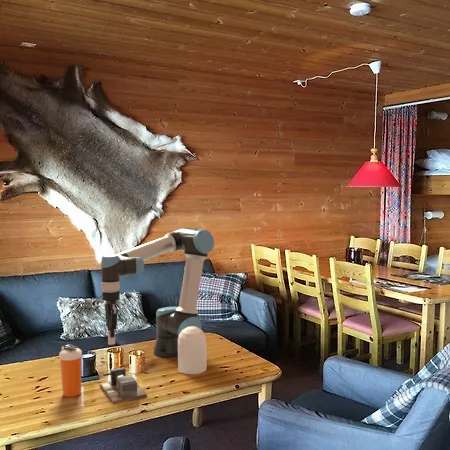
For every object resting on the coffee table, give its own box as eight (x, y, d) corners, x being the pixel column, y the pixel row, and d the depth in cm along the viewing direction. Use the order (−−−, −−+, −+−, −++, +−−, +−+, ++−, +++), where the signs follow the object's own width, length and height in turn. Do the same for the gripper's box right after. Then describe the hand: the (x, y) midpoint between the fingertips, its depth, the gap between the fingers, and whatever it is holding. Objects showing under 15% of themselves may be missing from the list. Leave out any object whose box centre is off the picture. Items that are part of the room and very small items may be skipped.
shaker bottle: (70, 400, 202) (69, 351, 201) (55, 395, 207) (54, 347, 205) (87, 392, 210) (86, 345, 208) (73, 387, 215) (71, 341, 213)
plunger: (103, 385, 213) (102, 371, 213) (124, 380, 218) (124, 367, 217) (109, 393, 205) (108, 378, 205) (131, 388, 210) (131, 374, 209)
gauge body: (99, 386, 216) (99, 369, 215) (131, 379, 223) (131, 364, 222) (112, 404, 198) (112, 386, 198) (146, 396, 205) (146, 379, 204)
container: (172, 368, 236) (171, 326, 234) (194, 361, 245) (194, 321, 243) (189, 376, 226) (188, 332, 224) (212, 369, 235) (212, 327, 233)
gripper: (98, 288, 223) (99, 341, 225) (106, 294, 212) (107, 349, 214) (115, 287, 227) (115, 338, 229) (123, 292, 215) (124, 346, 217)
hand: (111, 343), depth 221 cm, fingers closed
